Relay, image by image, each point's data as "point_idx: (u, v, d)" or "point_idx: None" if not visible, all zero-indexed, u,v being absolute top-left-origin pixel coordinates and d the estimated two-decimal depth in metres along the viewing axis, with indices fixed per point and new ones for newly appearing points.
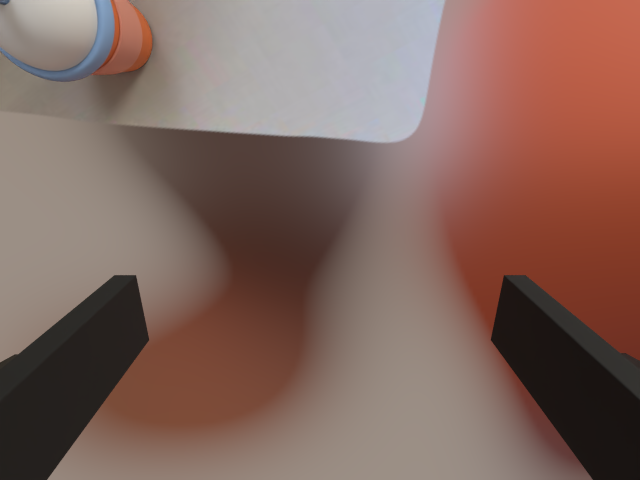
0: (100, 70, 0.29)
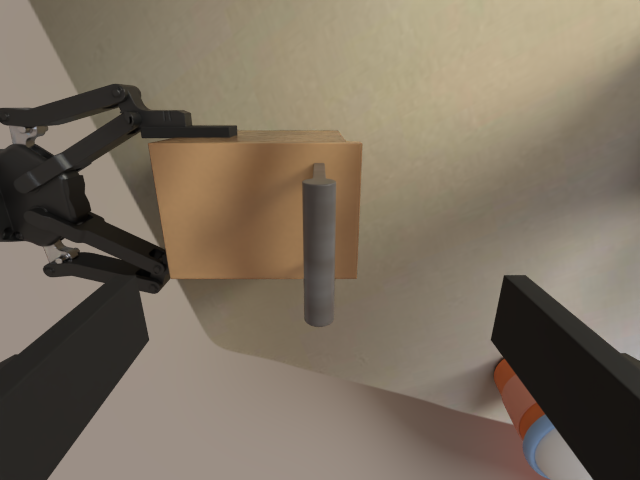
0: None
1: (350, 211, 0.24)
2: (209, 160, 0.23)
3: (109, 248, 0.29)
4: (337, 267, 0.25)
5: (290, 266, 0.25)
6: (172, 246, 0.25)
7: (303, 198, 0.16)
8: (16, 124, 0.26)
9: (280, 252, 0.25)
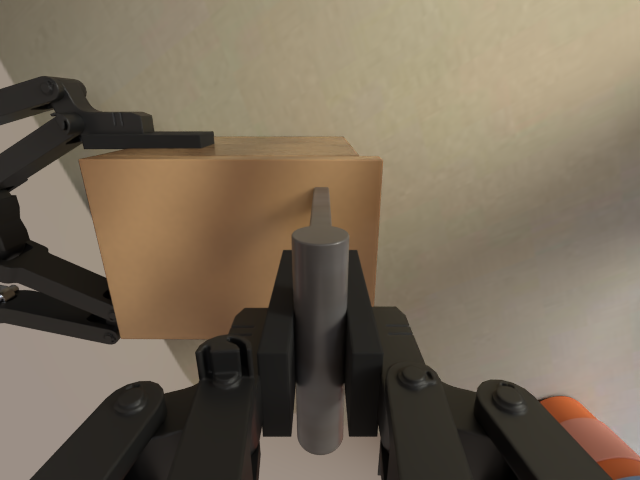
0: None
1: (364, 252, 0.17)
2: (166, 183, 0.16)
3: (50, 289, 0.23)
4: None
5: None
6: (121, 297, 0.18)
7: (293, 262, 0.10)
8: None
9: (268, 305, 0.18)
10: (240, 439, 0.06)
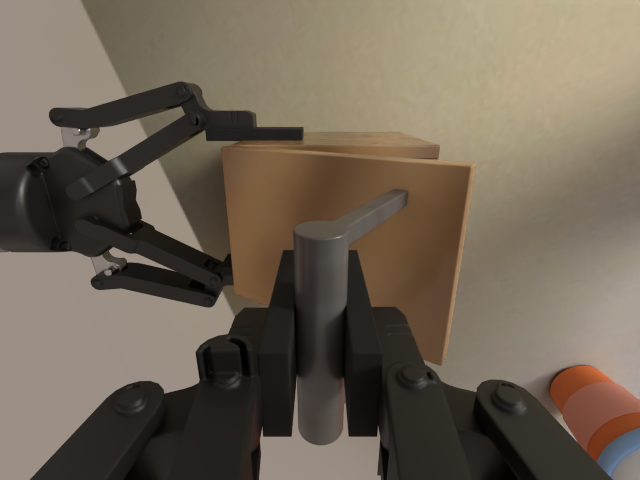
0: None
1: (441, 267, 0.16)
2: (273, 171, 0.19)
3: (163, 259, 0.27)
4: None
5: None
6: (237, 260, 0.22)
7: None
8: (70, 125, 0.24)
9: None
10: (240, 439, 0.06)
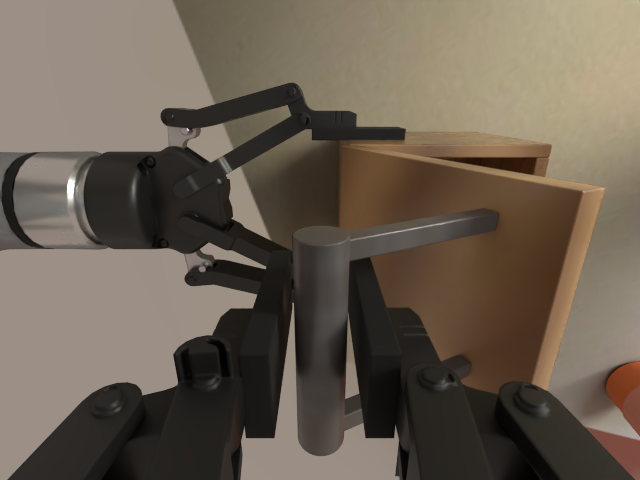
0: None
1: (529, 318, 0.12)
2: (376, 173, 0.18)
3: (257, 256, 0.28)
4: None
5: None
6: None
7: None
8: (180, 125, 0.25)
9: None
10: (219, 440, 0.06)
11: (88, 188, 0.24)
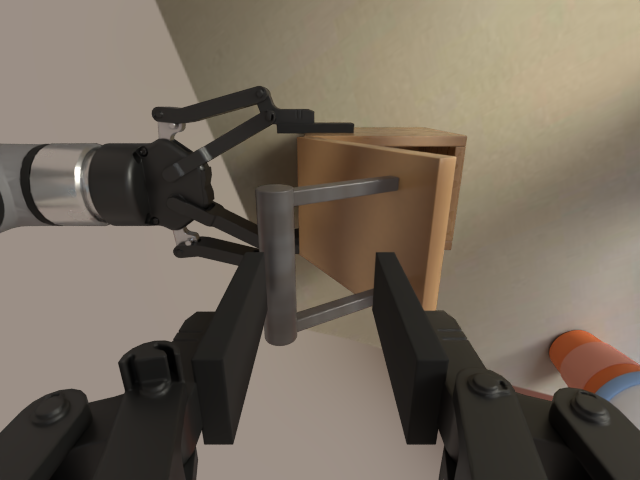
0: None
1: (419, 248, 0.18)
2: (323, 157, 0.24)
3: (235, 231, 0.33)
4: None
5: (363, 286, 0.22)
6: (301, 227, 0.28)
7: None
8: (168, 121, 0.30)
9: (358, 266, 0.22)
10: (168, 445, 0.06)
11: (92, 172, 0.29)
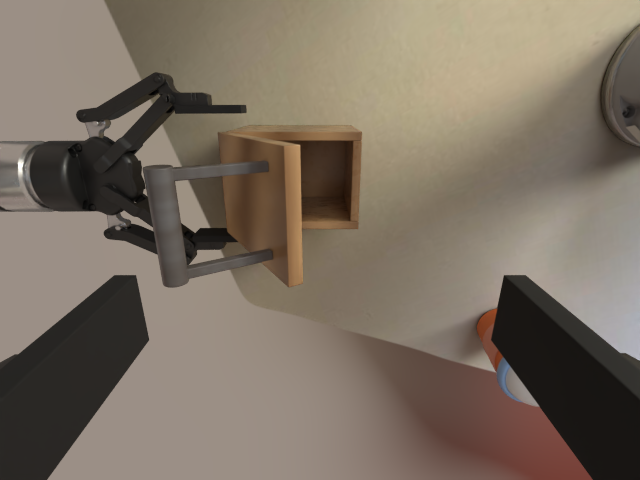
0: None
1: (282, 215, 0.23)
2: (232, 148, 0.29)
3: None
4: (279, 268, 0.25)
5: None
6: (226, 208, 0.34)
7: None
8: (91, 120, 0.35)
9: (256, 235, 0.28)
10: None
11: (32, 165, 0.35)
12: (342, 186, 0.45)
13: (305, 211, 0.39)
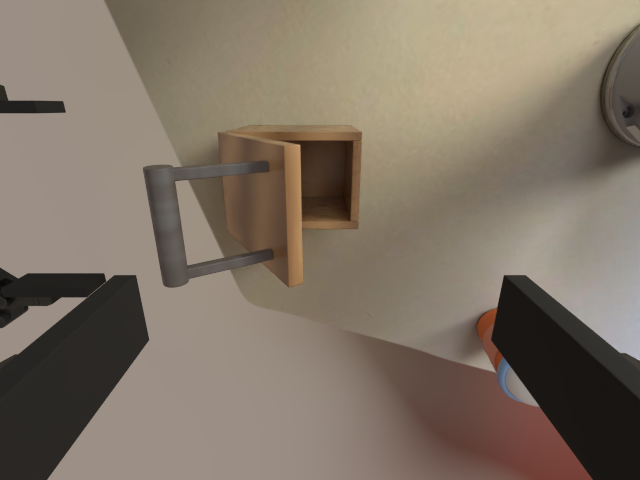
0: None
1: (282, 215, 0.23)
2: (232, 148, 0.29)
3: None
4: (279, 268, 0.25)
5: None
6: (226, 208, 0.34)
7: None
8: None
9: (256, 235, 0.28)
10: None
11: None
12: (342, 186, 0.45)
13: (305, 211, 0.39)
